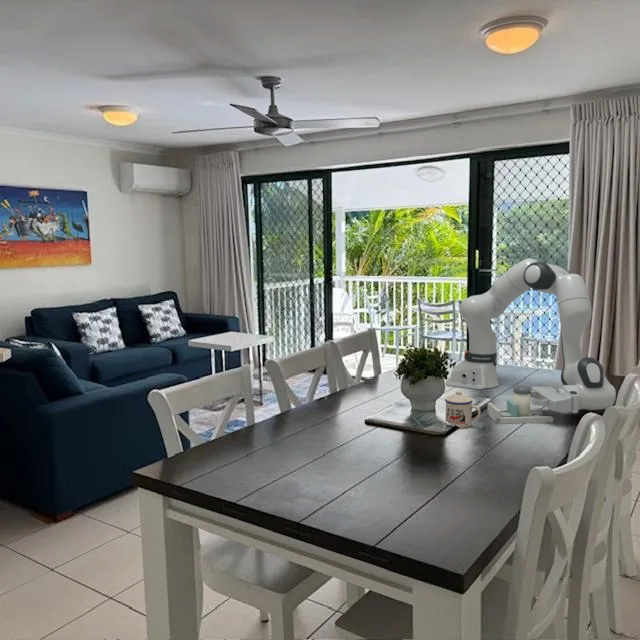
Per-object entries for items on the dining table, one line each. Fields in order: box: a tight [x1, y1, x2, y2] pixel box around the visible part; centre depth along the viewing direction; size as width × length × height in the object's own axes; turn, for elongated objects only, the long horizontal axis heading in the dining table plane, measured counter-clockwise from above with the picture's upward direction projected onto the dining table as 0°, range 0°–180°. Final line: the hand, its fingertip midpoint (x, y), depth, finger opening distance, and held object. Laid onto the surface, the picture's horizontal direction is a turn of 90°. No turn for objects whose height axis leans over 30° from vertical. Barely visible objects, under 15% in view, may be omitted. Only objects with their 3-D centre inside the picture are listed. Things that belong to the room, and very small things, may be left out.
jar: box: [512, 385, 532, 417], centre depth 211 cm, size 6×6×11 cm
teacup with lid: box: [444, 390, 481, 429], centre depth 205 cm, size 12×9×12 cm
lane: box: [487, 402, 554, 424], centre depth 212 cm, size 19×11×4 cm, turn 91°
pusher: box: [501, 399, 517, 417], centre depth 211 cm, size 4×7×6 cm, turn 1°
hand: (527, 398), depth 211 cm, fingers open, 8 cm apart
